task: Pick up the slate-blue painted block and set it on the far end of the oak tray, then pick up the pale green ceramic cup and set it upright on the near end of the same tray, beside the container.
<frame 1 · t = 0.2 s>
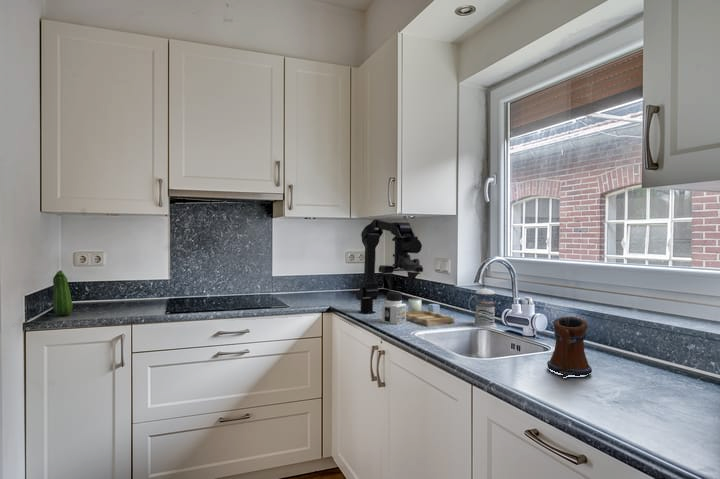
hand: (400, 289, 187), 15 cm above the worktop, tool pointing down, fingers open, 9 cm apart
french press: (482, 325, 187), on the worktop
block: (433, 313, 214), on the worktop
vegetable: (62, 316, 196), on the worktop
cup: (414, 314, 208), on the worktop
tray: (426, 320, 195), on the worktop
container: (393, 322, 191), on the worktop
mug: (566, 375, 123), on the worktop
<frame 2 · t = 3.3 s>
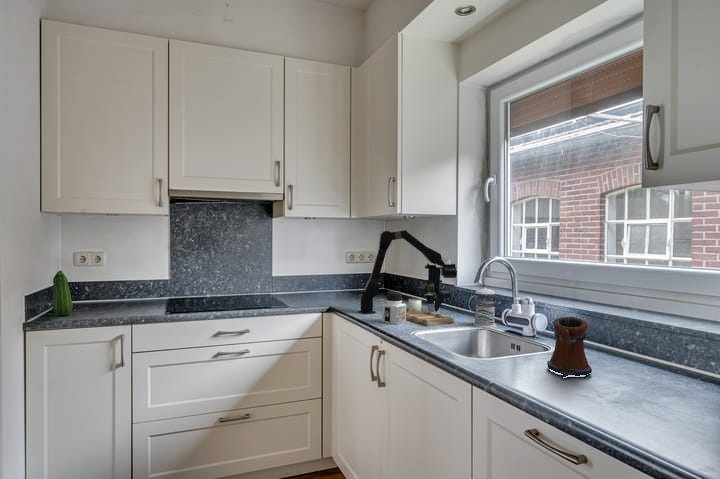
hand: (433, 310, 214), 1 cm above the worktop, tool pointing down, fingers closed on block, 4 cm apart
block: (433, 312, 214), on the worktop, touching gripper
everything else where it was.
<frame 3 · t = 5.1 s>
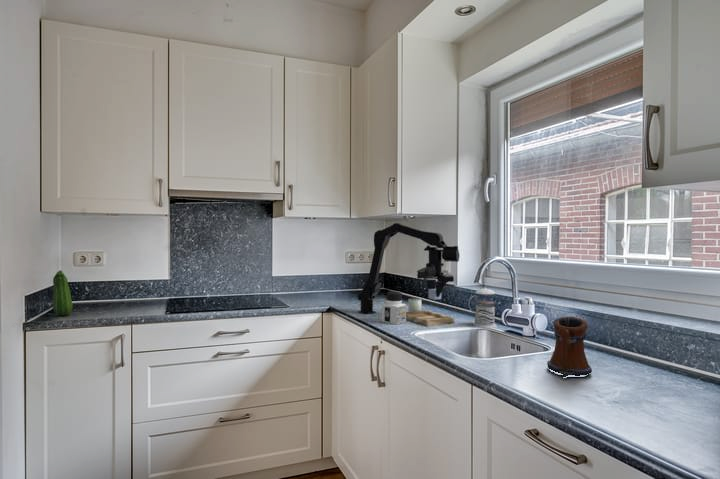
hand: (434, 296, 198), 10 cm above the worktop, tool pointing down, fingers closed on block, 4 cm apart
block: (434, 298, 198), point 9 cm above the worktop, touching gripper
everything else where it was.
when the fingers open (3 cm above the worktop, at t = 6.9 s): block drops 1 cm, resting on tray.
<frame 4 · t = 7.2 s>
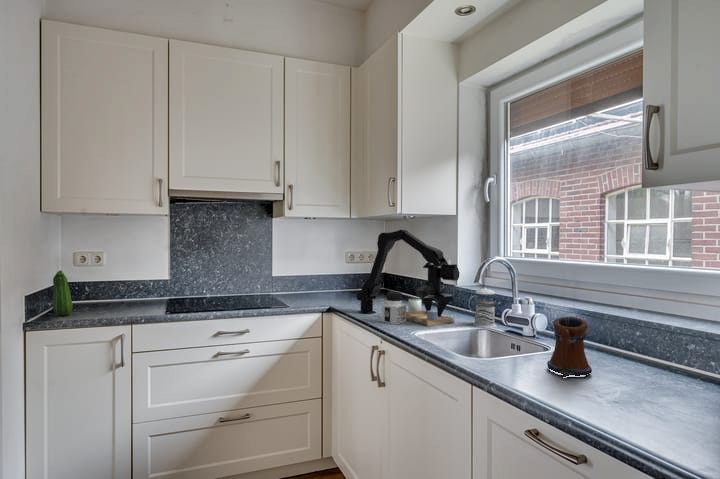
hand: (433, 315, 191), 3 cm above the worktop, tool pointing down, fingers open, 7 cm apart
block: (433, 320, 191), point 1 cm above the worktop, touching tray
everything else where it was.
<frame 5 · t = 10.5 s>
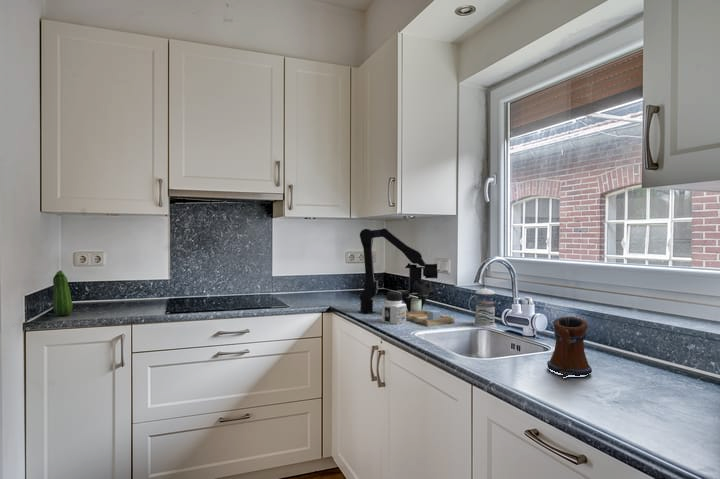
hand: (414, 311, 208), 2 cm above the worktop, tool pointing down, fingers closed on cup, 6 cm apart
cup: (414, 314, 208), on the worktop, touching gripper
everything else where it was.
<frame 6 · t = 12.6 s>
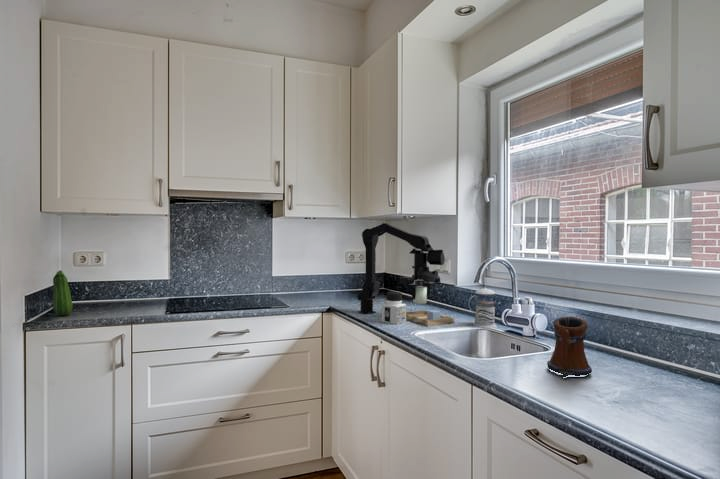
hand: (419, 298, 200), 9 cm above the worktop, tool pointing down, fingers closed on cup, 6 cm apart
cup: (419, 302, 200), point 7 cm above the worktop, touching gripper
everything else where it was.
when the fingers open (4 cm above the worktop, at t = 13.8 s): cup drops 2 cm, resting on tray.
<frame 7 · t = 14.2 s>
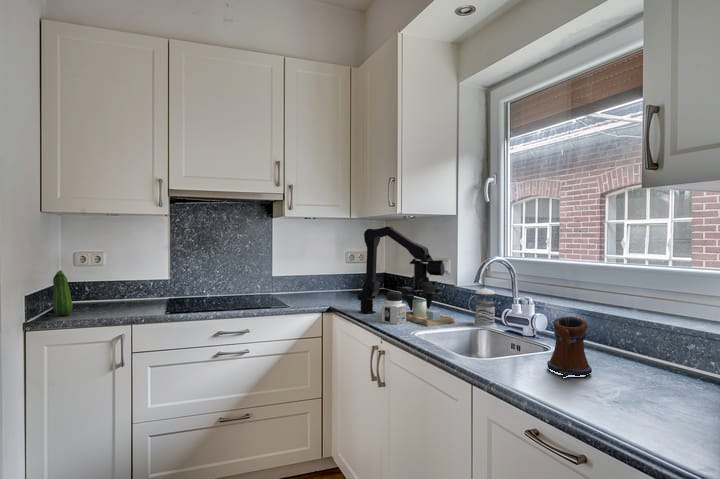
hand: (419, 309, 200), 4 cm above the worktop, tool pointing down, fingers open, 9 cm apart
cup: (419, 316, 200), point 1 cm above the worktop, touching tray
everything else where it was.
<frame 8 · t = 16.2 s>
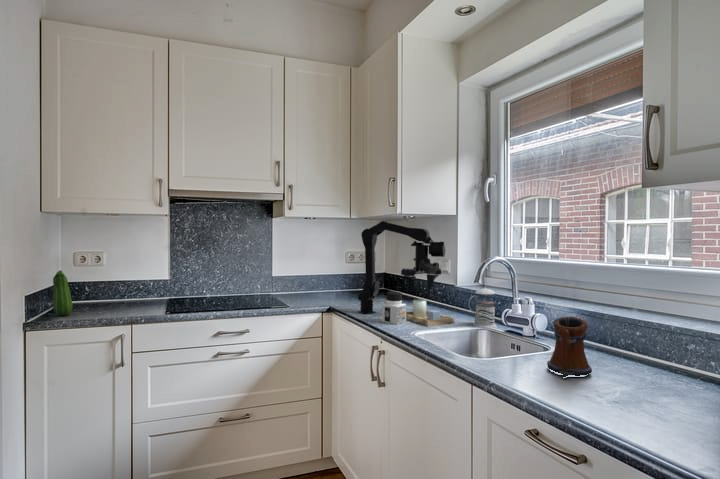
hand: (421, 290, 202), 12 cm above the worktop, tool pointing down, fingers open, 9 cm apart
nothing on the worktop moved.
at the end: cup inside the target area on the tray (5.1 cm from its centre), point 0.9 cm above the tray's base; cup tilted 1°; block inside the target area on the tray (4.9 cm from its centre), point 0.8 cm above the tray's base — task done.
